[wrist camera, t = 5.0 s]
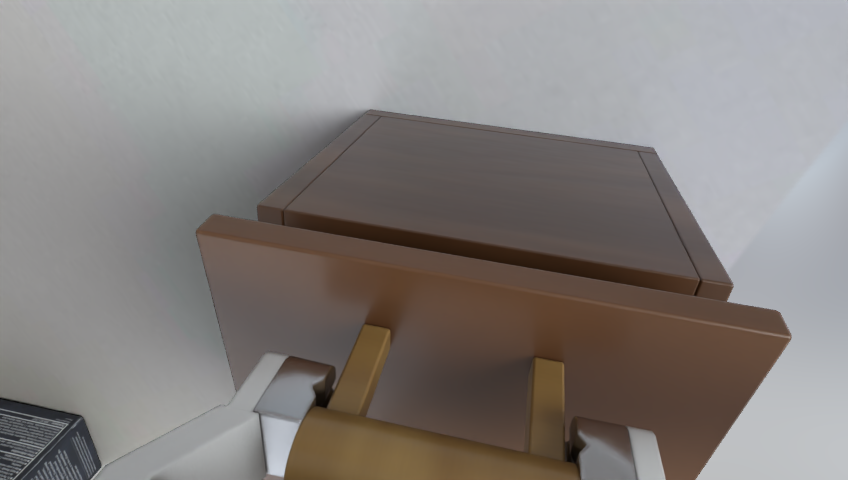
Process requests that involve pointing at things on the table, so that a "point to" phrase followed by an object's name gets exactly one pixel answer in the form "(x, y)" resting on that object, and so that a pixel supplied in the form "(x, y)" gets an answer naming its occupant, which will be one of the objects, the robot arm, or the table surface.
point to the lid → (477, 356)
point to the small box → (44, 445)
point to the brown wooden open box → (504, 201)
